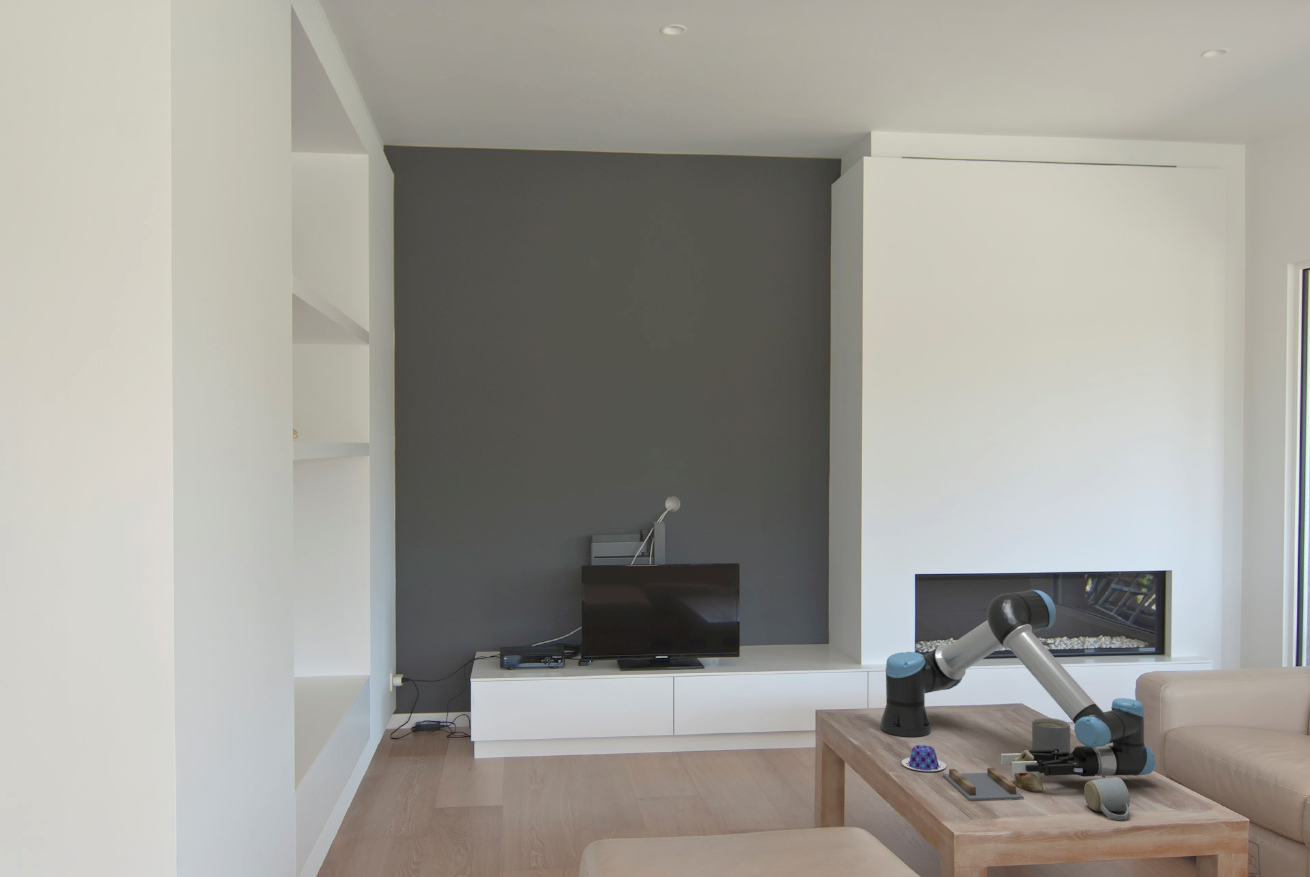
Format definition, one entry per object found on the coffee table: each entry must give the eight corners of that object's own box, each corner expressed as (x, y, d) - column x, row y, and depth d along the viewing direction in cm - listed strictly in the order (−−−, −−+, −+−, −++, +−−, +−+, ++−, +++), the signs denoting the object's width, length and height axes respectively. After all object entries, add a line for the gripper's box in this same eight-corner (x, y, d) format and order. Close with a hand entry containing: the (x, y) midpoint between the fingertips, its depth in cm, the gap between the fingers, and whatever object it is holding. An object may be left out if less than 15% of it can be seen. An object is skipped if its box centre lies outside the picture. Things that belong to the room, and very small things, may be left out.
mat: (942, 776, 255) (942, 774, 255) (993, 774, 256) (993, 772, 256) (969, 800, 237) (969, 798, 237) (1023, 799, 238) (1023, 796, 238)
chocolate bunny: (1030, 781, 250) (1030, 743, 251) (1046, 792, 243) (1045, 752, 243) (1010, 782, 250) (1010, 744, 250) (1025, 793, 242) (1025, 753, 242)
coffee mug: (1051, 765, 263) (1051, 729, 263) (1024, 755, 272) (1024, 720, 273) (1087, 759, 269) (1087, 723, 269) (1059, 749, 278) (1059, 714, 278)
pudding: (894, 761, 269) (894, 742, 269) (933, 758, 271) (933, 740, 271) (913, 775, 257) (913, 755, 257) (954, 772, 259) (954, 753, 259)
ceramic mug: (1081, 805, 234) (1081, 774, 234) (1113, 803, 235) (1113, 772, 235) (1105, 822, 223) (1105, 790, 223) (1138, 821, 224) (1138, 788, 224)
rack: (949, 776, 253) (949, 768, 253) (992, 775, 254) (992, 767, 254) (970, 795, 239) (970, 787, 239) (1016, 794, 240) (1016, 786, 240)
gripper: (1112, 788, 239) (1023, 790, 238) (1074, 763, 258) (991, 766, 256) (1112, 758, 239) (1022, 760, 238) (1074, 736, 258) (991, 738, 256)
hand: (1007, 763), depth 247 cm, fingers closed on chocolate bunny, 6 cm apart
